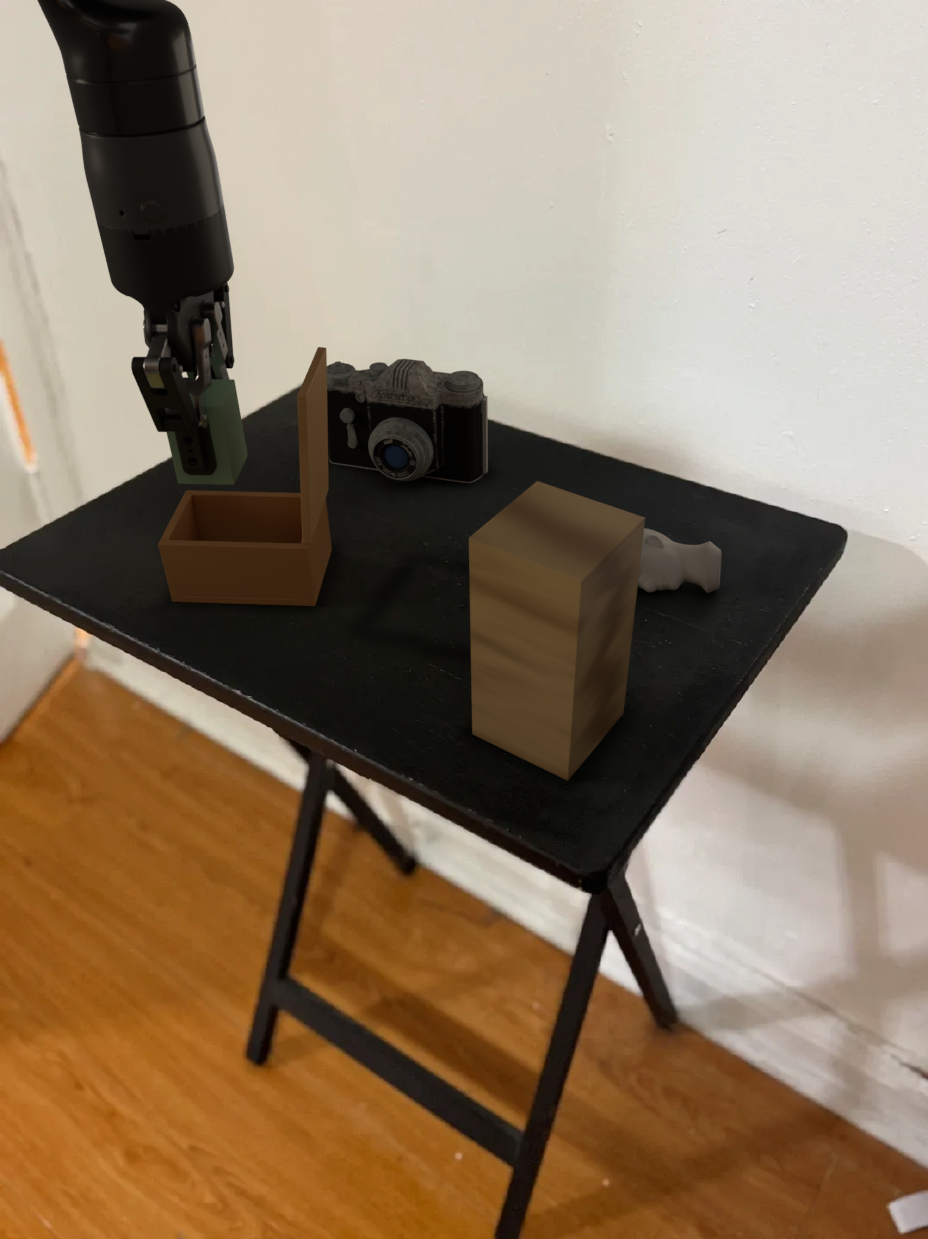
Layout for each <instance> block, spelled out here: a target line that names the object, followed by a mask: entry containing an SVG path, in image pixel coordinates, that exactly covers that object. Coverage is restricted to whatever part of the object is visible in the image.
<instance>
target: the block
mask: <svg viewBox="0 0 928 1239" xmlns="http://www.w3.org/2000/svg"><path fill="white" fill-rule="evenodd" d="M211 380H212V385H211V387H210V388H209V389H208V390H206V392H205V395H206V404H207V414H208V422H209V427H210V432H211V437H212V442H213V447H214V452H215V457H216V462H217V468H216V470H215V472H214V473H213V474H212V475H189V474H186V473H185V472H184V470H183V467H182V463H181V458H180V454H179V449H178V445H177V441H176V436H175V432H165V433H166V437H167V440H168V441H167V442H168V445H169V449H170V454H171V459H172V463H173V466H174V471H175V476H176V480H177V484H179V485H217V486H218V485H220V486H221V485H222V486H223V485H224V486H234V485H235V484H236V483H237V481H238V478H239V475H240V474H241V471H242V469H243V467H244V465H245V463H246V460H247V458H248V448H247V444H246V438H245V432H244V427H243V422H242V415H241V409H240V408H241V407H240V403H239V397H238V392H237V387H236V380H235V379H233V378H231V379H230V378H229V379H211ZM189 395H190V397H191V400H192V403H193V396H192V394H191V393H189ZM193 405H194V404H193Z"/></svg>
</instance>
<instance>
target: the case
mask: <svg viewBox="0 0 928 1239" xmlns="http://www.w3.org/2000/svg"><path fill="white" fill-rule="evenodd" d="M157 546H158V550H159V553H160V558H161V562H162V565H163V569H164V574H165V579H166V582H167V586H168V590H169V594H170V598H171V602H172V603H199V604H200V603H201V604H229V605H231V604H232V605H233V604H234V605H262V606H264V605H266V606H267V605H268V606H294V607H295V606H298V607H316V604H317V601H318V598H319V594H320V591H321V587H322V584H323V582H324V578H325V575H326V570H327V567H328V564H329V561H330V557H331V554H332V549H333V548H332V540H331V531H330V523H329V514H328V507H327V498H326V499H325V502H324V505H323V508H322V511H321V514H320V517H319V520H318V523H317V526H316V529H315V532H314V535H313V538H312V541H311V544H305V543H303V542H302V515H301V492H278V491H277V492H270V491H233V490H231V491H228V490H189V489H187V490H185V492H184V493H183V496H182V498H181V499H180V502H179V504H178V505H177V507H176V509H175V511H174V512H173V514H172V516H171V519H170V521H169V523H168V524H167V527H166V528H165V530H164V532H163V534H162V536H161V538H160V540H159V541H158V544H157Z"/></svg>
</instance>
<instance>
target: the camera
mask: <svg viewBox="0 0 928 1239" xmlns="http://www.w3.org/2000/svg"><path fill="white" fill-rule="evenodd" d="M488 406H489V404H488V395H485V393H484V381H483V378H482V377H480V375H478V373H476V372H474V371H470V370H456V371H453V372H450V373H449V372H443V371H442V372H441V371H434V370H433V369H432V368H431V367H430V366H429V365H428V364H427V363H426V362H425V361H424V360H418V359H409V358H397V359H396V360H395V361H394V362H392V363H391V364H390V365H387V363H386V362H383V361H379V362H373V363H371V364H369V368H365V369H360V370H359V369H356V368H355V367H354V365H352V364H350V363H345V362H342V361H340V360H338V361H335V362H332V363H331V364H327V420H328V462H330V463H331V464H332V465H339V466H345V467H347V466H348V467H353V468H359V469H360V468H361V469H367V470H372V471H379V473H381V474H382V475H383V476H385V477H387V478H389V479H391V480H395V481H401V482H410V481H415V480H418V479H420V478H421V477H422V478H428V479H429V478H430V479H436V480H442V481H449V482H456V483H464V484H472V483H474V482H477V481H478V480H480V479H481V478H482V477H483V476H484V474H488V471H489V451H488V450H489V445H488V443H489V442H488V441H489V439H488V437H489V435H488V433H489V430H488V429H489V424H488V423H489V422H488V420H489V418H488V412H489V411H488V410H489V408H488Z"/></svg>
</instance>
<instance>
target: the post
mask: <svg viewBox="0 0 928 1239" xmlns="http://www.w3.org/2000/svg"><path fill="white" fill-rule="evenodd" d="M645 521H646V517H644V516H641V515H638V514H636V513H632V512H630V511H626V510H624V509H620V508H619V507H618V508H617V507H615V506H612V505H609V504H606V503H603V502H600V501H597V500H594V499H591V498H589V497H585V496H582V495H580V494H576V493H574V492H571V491H568V490H565V489H562V488H559V487H556V486H553V485H550V484H547V483H545V482H542V481H539V480H536V481H535V482H534V483H533V484H532V485H531V486H529V487H528V488H527V489H526V490H524V491H523V492H522V493H520V495H519V496H518V497H516V498H515V499H514V500H512V502H510V503H508V505H507V506H506V507H504V508H503V509H501V511H499V512H498V513H497V514H496V515H495V516H493V517H492V518H491V519H490V520H488V522H486V523H485V524H484V525H482V526H481V527H480V528H479V529H477V530H476V531H475V532H474V533H473V534H471V536H469V537H468V563H469V564H468V566H469V567H468V568H469V570H468V571H469V573H468V574H469V575H468V576H469V622H470V624H469V626H470V629H469V630H470V677H471V678H470V679H471V682H470V683H471V684H470V685H471V688H470V689H471V728H472V729H471V734H472V735H473V736H475V737H477V738H479V739H481V740H483V741H485V742H487V743H489V744H492V745H493V746H495V747H497V748H500V749H501V750H504V751H506V752H508V753H510V754H512V755H513V756H516V757H518V758H520V759H522V760H524V761H526V762H528V763H530V764H532V765H534V766H536V767H539V768H541V769H542V770H544V771H547V772H548V773H551V774H553V775H555V776H557V777H559V778H561V779H563V780H565V781H566V782H568V781H569V780H570V779H571V778H572V777H573V775H574V774H575V773H576V772H577V771H578V769H580V767H581V766H582V764H583V763H584V762H585V761H586V760H587V758H588V757H589V756H590V755H591V754H592V752H593V751H594V750H595V749H596V747H597V746H598V745H599V744H600V743H601V741H602V740H603V739H604V738H605V737H606V735H607V734H608V733H609V732H610V730H611V729H612V728H613V727H614V725H615V724H616V723H617V722H618V721H619V719H621V717H622V716H623V715H624V711H625V703H626V696H627V695H626V693H627V684H628V675H629V666H630V657H631V650H632V648H631V647H632V642H633V641H632V639H633V632H634V631H633V630H634V624H635V623H634V621H635V613H636V612H635V611H636V604H637V595H638V588H637V587H638V578H639V569H640V560H641V551H642V542H643V533H644V528H645Z"/></svg>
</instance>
